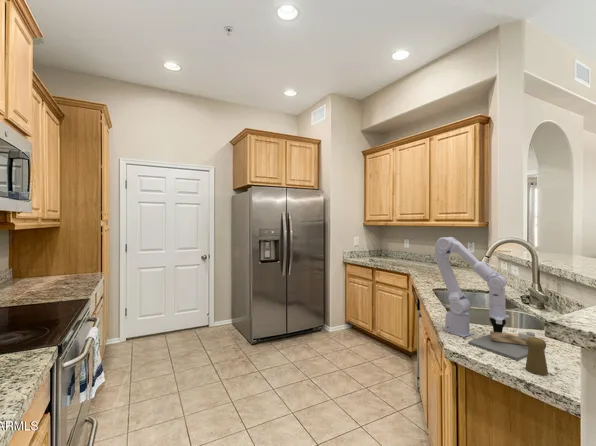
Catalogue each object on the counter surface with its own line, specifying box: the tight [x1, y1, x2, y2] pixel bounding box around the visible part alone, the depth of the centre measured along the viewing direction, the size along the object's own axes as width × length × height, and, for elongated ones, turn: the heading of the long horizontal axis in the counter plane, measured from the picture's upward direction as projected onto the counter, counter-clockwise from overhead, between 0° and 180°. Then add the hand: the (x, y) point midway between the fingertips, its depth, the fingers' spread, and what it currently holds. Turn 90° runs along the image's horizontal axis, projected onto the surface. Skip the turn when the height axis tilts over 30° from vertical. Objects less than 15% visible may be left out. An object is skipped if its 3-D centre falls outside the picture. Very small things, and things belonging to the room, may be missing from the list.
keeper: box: [517, 332, 534, 339], centre depth 117 cm, size 5×2×5 cm, turn 30°
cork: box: [525, 336, 549, 376], centre depth 101 cm, size 6×6×11 cm
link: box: [489, 330, 538, 346], centre depth 122 cm, size 16×4×3 cm, turn 64°
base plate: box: [467, 331, 536, 362], centre depth 121 cm, size 18×20×6 cm
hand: (497, 336), depth 126 cm, fingers closed
